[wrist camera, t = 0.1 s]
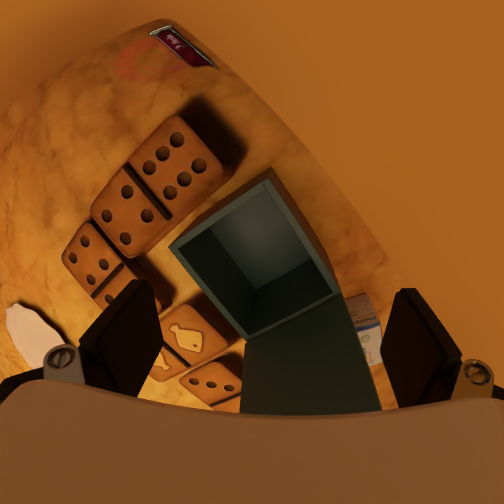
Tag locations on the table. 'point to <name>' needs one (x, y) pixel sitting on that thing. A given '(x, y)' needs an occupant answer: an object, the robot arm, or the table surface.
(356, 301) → the medicine box
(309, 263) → the chest
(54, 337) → the plate
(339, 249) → the table surface
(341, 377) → the lid
